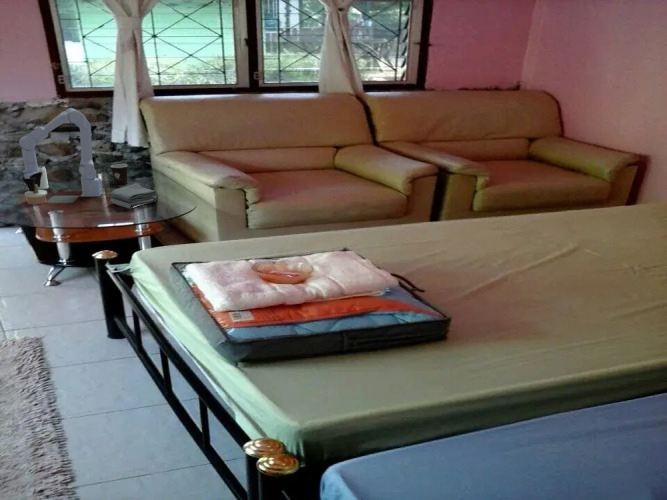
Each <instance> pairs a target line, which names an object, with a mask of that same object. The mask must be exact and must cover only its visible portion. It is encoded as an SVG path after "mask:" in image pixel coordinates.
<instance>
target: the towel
mask: <svg viewBox="0 0 667 500" xmlns="http://www.w3.org/2000/svg"><path fill="white" fill-rule="evenodd" d="M109 196H110V197H111V198H110V203H112V204H115V205H117V206H120V207H123V208H126V209H129V210H130V209H131V210H132V208H133V207H134V206H137V205H142V206H145V205H147V204H151V203H154V202H156V201H157V194H156V190H154V189H150V188H145V187H143V186H142V185H141V184H139V183H137V182H136V183H132V184H129V185H126V186H122V187H119V188H115V189H112V190H111V192H110V193H109ZM144 204H145V205H144ZM133 209H134V208H133Z"/></svg>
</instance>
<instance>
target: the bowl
mask: <svg viewBox="0 0 667 500" xmlns="http://www.w3.org/2000/svg"><path fill="white" fill-rule="evenodd" d="M25 198H26V201H27V204H28V205H40V204H46V202H47V195H45V196H43V197H37V198H29V197H25Z"/></svg>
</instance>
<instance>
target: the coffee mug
mask: <svg viewBox="0 0 667 500" xmlns="http://www.w3.org/2000/svg"><path fill="white" fill-rule="evenodd" d="M108 169H110V170H111V173H112V174H110V173H109V172H108ZM105 172H106V173H107V175H109V176H110V177H112V178H113V181H114V184H115V185H116V186H123V185H127V184H128V164H125V163H116V164H112V165H110V167H106V168H105Z"/></svg>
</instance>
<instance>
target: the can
mask: <svg viewBox="0 0 667 500" xmlns="http://www.w3.org/2000/svg"><path fill="white" fill-rule="evenodd" d="M37 165H38V167H39V169H40V171H39V172H42V173H43V174H42V176H41V183H40V187H38V190H47V189H49V183H48V181H49V180H48V176H47V175H48V174H47V170H46V167H45V165H43V164H37Z"/></svg>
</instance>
